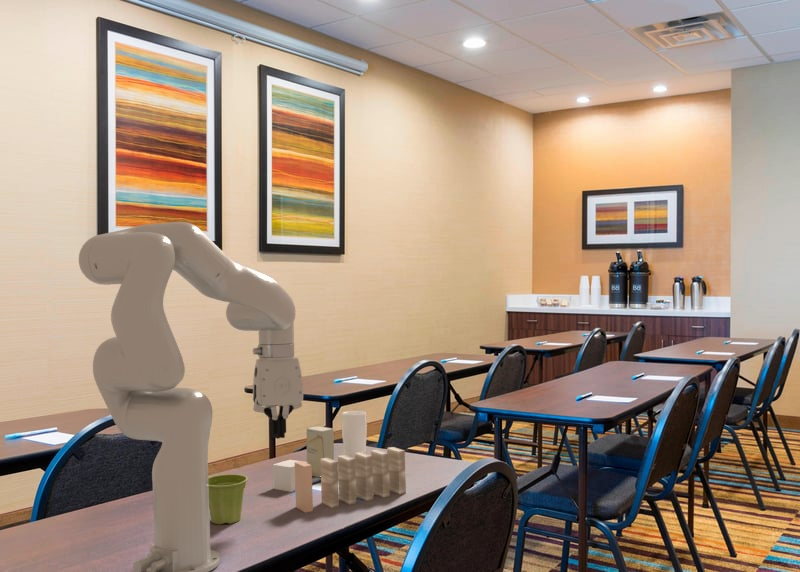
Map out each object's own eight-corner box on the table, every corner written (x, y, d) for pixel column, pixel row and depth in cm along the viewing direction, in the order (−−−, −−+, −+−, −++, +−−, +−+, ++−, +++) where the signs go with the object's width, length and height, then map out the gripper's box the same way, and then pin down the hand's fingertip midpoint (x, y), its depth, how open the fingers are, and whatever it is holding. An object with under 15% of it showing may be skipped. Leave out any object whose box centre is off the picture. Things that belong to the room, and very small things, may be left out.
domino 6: (399, 494, 177) (398, 451, 177) (388, 489, 181) (387, 447, 181) (405, 493, 178) (404, 450, 178) (394, 488, 182) (393, 446, 182)
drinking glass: (340, 467, 205) (338, 411, 205) (364, 464, 207) (362, 409, 207) (345, 472, 199) (344, 415, 199) (370, 470, 201) (369, 413, 201)
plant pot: (258, 517, 162) (257, 476, 162) (227, 530, 154) (225, 487, 154) (225, 511, 167) (224, 472, 167) (193, 523, 159) (192, 482, 159)
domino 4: (366, 501, 172) (365, 457, 172) (355, 496, 176) (354, 453, 176) (373, 499, 173) (372, 455, 173) (362, 494, 177) (361, 452, 177)
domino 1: (305, 512, 165) (303, 466, 165) (295, 507, 169) (294, 462, 169) (312, 511, 166) (311, 465, 166) (303, 505, 170) (301, 461, 170)
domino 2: (331, 508, 168) (330, 462, 167) (321, 502, 172) (320, 458, 172) (338, 506, 168) (337, 461, 168) (328, 501, 173) (327, 457, 173)
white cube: (308, 486, 187) (307, 462, 187) (291, 492, 182) (290, 467, 182) (290, 483, 190) (289, 459, 190) (273, 489, 185) (272, 464, 185)
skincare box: (306, 474, 198) (305, 428, 198) (318, 471, 201) (317, 425, 201) (322, 478, 194) (321, 430, 194) (335, 474, 197) (334, 428, 197)
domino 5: (383, 497, 174) (381, 454, 174) (372, 492, 179) (371, 450, 179) (389, 496, 175) (388, 453, 175) (378, 491, 180) (377, 449, 180)
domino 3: (349, 504, 170) (348, 459, 170) (339, 499, 174) (337, 455, 174) (356, 503, 171) (355, 458, 171) (346, 498, 175) (344, 454, 175)
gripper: (249, 355, 157) (251, 444, 156) (315, 351, 164) (317, 435, 164) (237, 353, 163) (239, 438, 163) (301, 349, 171) (303, 431, 171)
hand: (278, 437), depth 164 cm, fingers closed
